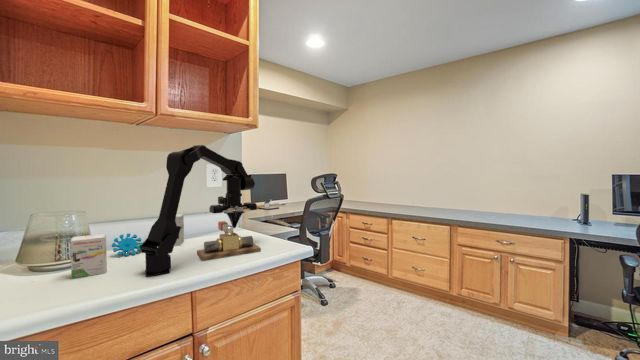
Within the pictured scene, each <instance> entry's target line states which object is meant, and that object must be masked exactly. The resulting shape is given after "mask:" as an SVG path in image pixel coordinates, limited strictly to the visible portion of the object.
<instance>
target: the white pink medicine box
mask: <svg viewBox="0 0 640 360" xmlns="http://www.w3.org/2000/svg"><path fill="white" fill-rule="evenodd" d="M107 256H108V255H107V235H106V233H101V234H99V233H98V234H90V235H89V234H88V235H79V236H73V237H71V239H70V266H71V268H70V269H71V279H78V278H79V279H80V278H85V277H89V276H91V277H92V276H97V275H102V274H106V273H107V270H108V262H107V260H108V258H107Z"/></svg>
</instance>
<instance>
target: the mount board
mask: <svg viewBox="0 0 640 360" xmlns="http://www.w3.org/2000/svg"><path fill="white" fill-rule="evenodd" d="M261 249H262V248H261V247H260V245H259V246H258V245H257V244H255V243H254V242H253V246H247V247H242V248H240V249H239V250H233V251H226V252H223V251H220V252H218V251H214V252H207V253H205V251H204V248H203V249H197V250H196V255H197V256H198V258H199V259H200V261H201V262H203V261H212V260H217V259H222V258H229V257H235V256H241V255H248V254H253V253H259V252H261V251H262V250H261Z"/></svg>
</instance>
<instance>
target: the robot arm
mask: <svg viewBox="0 0 640 360" xmlns="http://www.w3.org/2000/svg"><path fill="white" fill-rule="evenodd" d="M200 160H204V161H206V162H207V163H209V164H212V165H214V166H215V167H218V168H219V169H220V171H221V172H222V173H224V174H225V176H224V177H223V178H222V181H226V193H225V196H222V195H221V196H218V197H217V203H218V204H211V205H210V206H209V207H208V208H209V213H210V214H211V213H212V214H222V213H224V214H226V215H227V217H228V218H229V221H230V224H231V226H233V229H236V227H237V225H238V223H239V220H240V218H241V217H242V215H243V214H244V213H245V212H246V211H244V210H246V209H249V210H250V211H256V210H258V205H257V203H256V202H249V201H248V202H243V203H242V196H243V193H242V192H241V191H250V190H253V189H254V187H255V184H256V182H255V179H254V178H253V177H252V174H248V173H247V171H246V169H245V167H244V166H243V162H241V160H240V161H239V160H235V159H229V158H227V157H225V156H223V155H221V154H219V152H218V153H217V152H215V151H214V150H212V149H210V148H208V147H207V146H205V144H199V145H193V146H191V147H189V148H188V147H187V148H186V149H182V150H179V151H172V152H170V153H168V155H167V156H166V171H167V174H168V177H167V182H166V184H165V185H166V186H165V189H164V190H165V191H164V194H163V197H162V198H163V199H162V203H161V207H160V211H159V214H158V215H159V216H158V218H157V220H156V221H154V223H153V225H152V226H151V228H150V231H149V232H148V235H147V238H146V239H145V240H144V241H143V242H144V243H143V242H142V243H143V244H142V245H141V246H140V250H141V251H140V252H141V253H142V254H145V256H144V257H145V270H144V271H145V272H144V273H145V277H152V276H157V275H159V276H160V275H163V274H168V273H170V272H171V268H172V259H171V254H172V253H173V251H174V247H175V246H174V244H175V243H176V241H177V239H179V232H180V229H181V227H180V226H177V225H176V221H175V219H176V214H178V209H179V206H180V205H179V204H180V201H181V196H182V192H183V188H184V183H185V179H186V178H187V177H188V175H189V174H190V173H191V171H192V170H193V169H192V168H193V167H194V164H195V163H196V162H198V161H200Z"/></svg>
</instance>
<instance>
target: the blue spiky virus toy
mask: <svg viewBox="0 0 640 360" xmlns="http://www.w3.org/2000/svg"><path fill="white" fill-rule="evenodd" d="M124 236H125V235H124V234H120V235H119V238H118V237H115V238H114V239H113V242H112V244H111V247H112V249H113V250H112V251H113V253H116V252H117V255H118V256H119V257H120V256H122V255H123V253H124V257H129V256H130V252H131V251H132V252H131V255H132V256H134V255H137V252H141V250H140V246H141V245H142V244H143V243H144V241H143V242H142V237H138V235H137V234H133V235H132V236H131V233H128V232H127V233H126V236H125V238H124ZM137 237H138V238H137ZM119 239H120V240H119ZM116 243H117V244H116ZM136 251H137V252H136ZM126 252H127V253H126Z"/></svg>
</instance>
